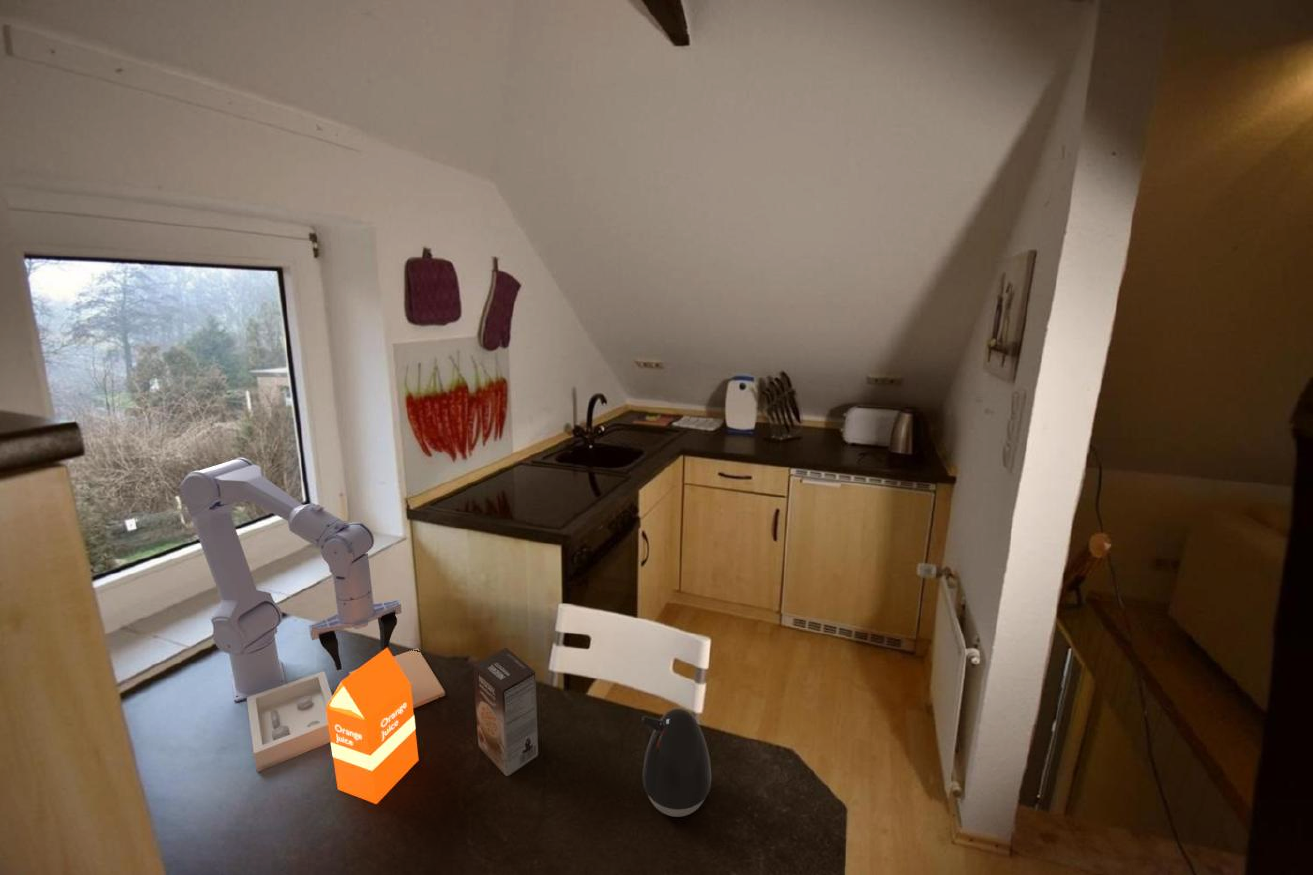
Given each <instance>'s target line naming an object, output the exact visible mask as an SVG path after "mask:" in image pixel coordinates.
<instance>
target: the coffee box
mask: <svg viewBox="0 0 1313 875" xmlns="http://www.w3.org/2000/svg"><path fill="white" fill-rule="evenodd" d="M472 667H473V682H474V683H473V684H474V698H475V700H474V701H475V712H476V713H475V714H476V723H477V724H476V727H477V728H476V729H477V740H478V741H477V742H478V747H479V748H480V749H481V750H482V752H483V753H484V754H485V755H486V756H487V757H488V758H489V759H490V760H491V761H492V762H493V764H495V766H496V767H497V768H498V769H499V770H500V771H501V772H502V773H503V774H504V776H506V777H509V776H510V775H512V774H513V773H515V772H516V771H517V770H519V769H520V768H522V767H524V766H525V765H526V764H528V763H529V762H531V761H532V760H533V759H535V758H536V757H538V755H539V743H538V715H537V714H538V711H537V710H538V709H537V683H536V682H537V680H536V679H537V678H536V671H535V670H534V669H532V668H531V667H530V666H529V665H527V663H525V662H524V661H523V660H522V659H521V658H520V657H518V656H517V655H516V654H515V653H514V652H512V651H511V650H510V649H508V648H507V647H504V648H502V649H500V650H499V651H496V652H495V653H492V654H489V655H488V656H486V657H484V658H483V659H481V660H480V661H477V662H475V663H473V664H472Z"/></svg>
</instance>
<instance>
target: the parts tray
mask: <svg viewBox="0 0 1313 875" xmlns="http://www.w3.org/2000/svg"><path fill="white" fill-rule="evenodd" d="M330 688H331V687H330V685H329V683H328V678H327V676H326V673H325V671H324V670H323V671H320V672H318V673H315V674H314V673H313V674H312V675H307V676H305V677H302V678H300V679H297V680H293V681H290V682H288V683H286V684H285V685H282V686H279V687H276V688H273V689H270V690H267V691H264V692H261V693H258V694H255V695H252V696H250V697H247V698H246V701H247V702H246V703H247V704H246V705H247V712H248V717H249V718H248V719H249V727H250V734H251V743H252V750H253V757H254V763H255V768H256V772H257V773H259V772H261V771H265V770H266V769H268V768H271V767H274V766H276V765H278V764H280V763H283V762H286V761H287V760H291V759H292V758H293V759H294V758H295V757H298V756H300V755H303V754H305V753H307V752H309V751H312V750H314V749H317V748H319V747H322V746H324V745H327V744H329V743H331V739H330V733H329V726H328V719H327V712H326V707H327V705H328V703H329V702H330V700H331V698H332V697H333V694H332V690H331V689H330Z"/></svg>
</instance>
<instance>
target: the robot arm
mask: <svg viewBox="0 0 1313 875" xmlns="http://www.w3.org/2000/svg"><path fill="white" fill-rule="evenodd" d="M178 488H179V490H180V494H181V495H182V496H181V497H182V498H183V501H184V504H185V507H186V509H187V512H188V514H189V517H190V518H191V522H192V523H193V527H194V529H195V532H196V535H197V536H198V541H199V542H200V546H201V549H202V552H203V554H204V556H205V559H206V562H207V565H208V567H209V571H210V573H211V575H212V579H213V580H214V584H215V587H216V589H217V590H216V591H217V593H218V595H219V597H220V600H221V601H220V603H219V606H217V608H216V610H215V612H214V614H212V616H211V618H210V621H211V624H212V627H213V629H212V631H213V632H212V638H213V642H214V644H215V646H216V647H217V648H218V649H219V650H220V651H222V652H223V653H225V654H228V656H229V661H230V665H231V667H230V668H231V672H232V674H231V682H232V692H233V693H232V695H233V701H234V702H239V701H242V700H247V697H250V696H252V695H255V694H258V693H261V692H264V691H267V690H270V689H273V688H276V687H279V686H282V685H285V684H287V683H286V679H285V674H284V669H283V665H282V661H281V659H280V658H279V653H278V648H277V642H276V637H275V635H277V633H278V626H280V625H281V623H282V621H283V612H282V611H281V608H280V606H279V605H278V604H277V603H276V601H275V600H274V599H273V596H272V593H271V592H268V591H266V590H260V589H257V587H256V584H255V581H254V578H253V575H252V572H251V570H250V567H249V564H248V560H247V558H246V555H245V553H244V550H243V547H242V544H241V541H240V538H239V535H238V532H237V529H236V526H235V523H234V520H233V518H232V515H231V512H232V510H233V509H234V507H235V506H236V505H237V503H243V502H249V503H252V504H253V505H255V506H257V507H259V508H261V509H263V510H265V511H267V512H269V513H271V514H273V515H275V516H277V517H279V518H281V519H283V520H285V521H287V524H288V528H289V531H290V532H291V533H292V534H294V535H295V536H298V537H300V538H301V539H303V540H305V541H306V542H308V543H309V544H310V545H313V547H314V546H315V547H316V548H318V549H319V550H320V554H321V556H322V558H323V560H324V561H325V562H326V564H327V565H328V568H329V573H331V575H332V578H333V579H332V580H333V585H334V592H335V603H336V610H337V613H336V614H334V615H331V616H329V617H328V618H324V619H323V620H321V621H318V622H316V623H312V624H310V625H308V627H309V633H310V634H309V635H310V639H311V640H312V641H316V640H318V639H319V642H320V645H321V646H322V647H323V649H324V650H326V652H327V653H328V654H329V655H330V657H331V659H332V660H333V662H334V666H335V668H336V670H337V671H341V670H342V663H341V659H340V653H339V641H338V639H337V635H336V632H338V631H341V630H344V629H352V628H354V629H355V630H358V629H362V628H365V627H367V626H368V625H369V623H371V622H373V621H375V620H377V623H378V627H379V642H380V643H379V645H380V650H381V652H382V651H383V650H385V649H386V648H387V647H388V648H389V647H390V646H389V645H390V641H391V638H392V636H393V632H394V630H395V628H396V626H397V625H398V617H397V616H396V615H400V614H402V613H403V612H402V604H401V602H400V601H399V599H396V600H391V601H386V602H377V603H374V597H373V595H374V594H373V587H372V579H371V568H370V561H369V560H370V559H369V553H368V552H369V551H370V550H371V549H373V547H374V545H375V544H374V543H375V537H374V534H373V532H372V531H371V529H370V528H368V527H367V526H366V525H365V524H364V523H362V522H359V521H355V522H350V521H348V520H347V521H344V520H342V519H340V518H339V517H337V516H335V515H334V514H333V513H330V512H329V511H327V510H325V509H324V507H323V506H322V505H320V504H318V503H317V504H316V503H308V504H302V503H300V502H299V501H297V500H296V498H294V497H292V496H291V495H289V493H287V492H285V491H284V490H282V488H279V487H278V486H277V485H276V484H274V483H273V482H272V481H270V480H268V479H267V478H266V477H265V475H264V472H263V469H262V467H261V466H259V465H257V464H255V463H253V462H252V461H251V460H250V459H248V458H245V457H237V458H233V459H232V460H228V461H226V462H223V463H220V464H216V465H213V466H211V467H206V468H203V469H200V470H193V471H190V472H188V474H186V476H185V477H184V478H183V480H182V481H181V483H180V485H179V487H178Z"/></svg>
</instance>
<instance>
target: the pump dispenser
mask: <svg viewBox="0 0 1313 875" xmlns="http://www.w3.org/2000/svg"><path fill="white" fill-rule="evenodd" d="M641 723H642V724H643V725H645V726H646V727H648V728H651V729H654V730H653V731H652V734H651V737H650V739H649V741H648V744H647V747H646V751H645V755H644V761H643V768H642V783H643V788H644V791H645V792H646V794H647V796H648V799H649V800H650V802H651V804H652V805H653V806H654V807H655V808H656V809H657V810H658V811H659V812H661V813H662V814H664V815H667V816H670V817H674V818H675V817H678V818H679V817H685V816H688V815H691V814H693V813H694V812H696V811H697V810H698V809H699V808H700V807H701V805H702V804H703V802H704V801H705V799H706V797H707V796H708V794H709V793H710V790H711V785H712V770H711V759H710V755H709V754H710V753H709V749H708V745H707V743H706V739H705V736H704V734H703V731H702V729H701V727H700V725H699V723H698V721H697V720H696V718H695V717H694V715H693V714H692V713H690V711H688V710H686V709H684V708H681V707H680V708H679V707H677V708H671V709H669V710H667V711H666V712H665V714H663V716H662V717H661V718H659V719H657V718H654V717H650V716H647V715H644V716H642V719H641Z"/></svg>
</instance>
